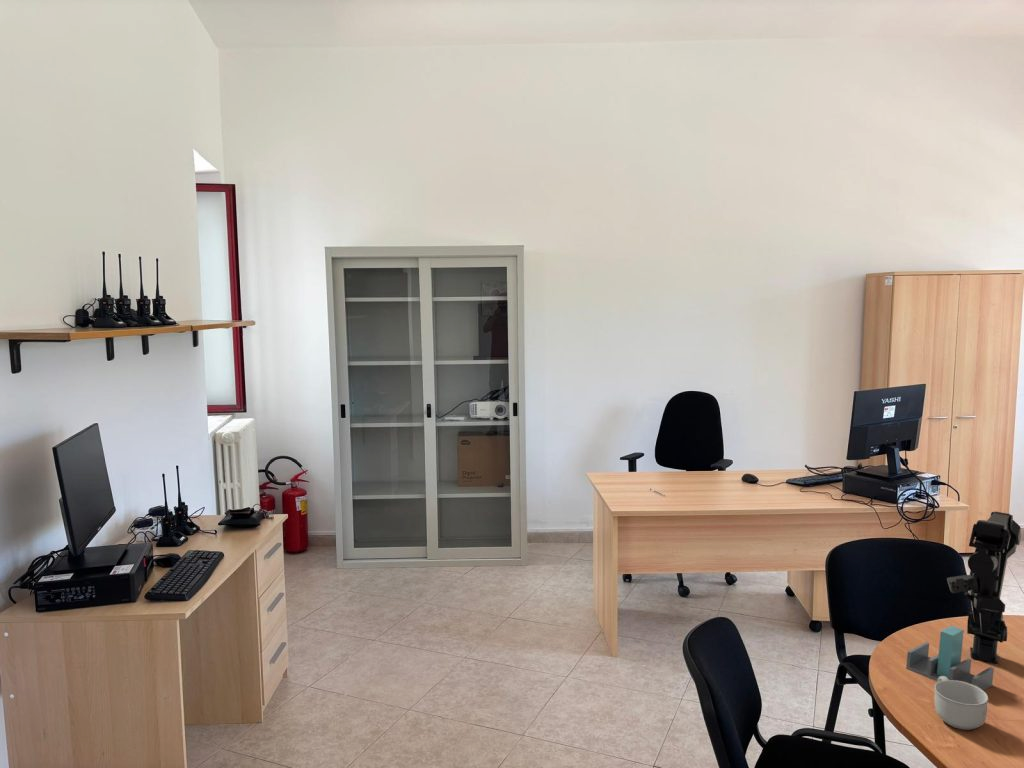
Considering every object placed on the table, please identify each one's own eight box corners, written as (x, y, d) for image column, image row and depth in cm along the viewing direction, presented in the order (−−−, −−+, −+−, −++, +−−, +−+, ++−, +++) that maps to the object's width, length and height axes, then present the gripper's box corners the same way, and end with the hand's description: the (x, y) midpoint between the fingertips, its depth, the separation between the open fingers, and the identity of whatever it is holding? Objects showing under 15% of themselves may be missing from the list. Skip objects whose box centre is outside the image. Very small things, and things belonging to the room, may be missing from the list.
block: (947, 668, 198) (951, 625, 197) (959, 672, 196) (963, 629, 195) (936, 674, 195) (940, 631, 194) (948, 679, 193) (952, 635, 191)
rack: (924, 658, 205) (926, 642, 205) (992, 685, 191) (993, 667, 191) (906, 668, 200) (907, 651, 199) (974, 696, 186) (975, 678, 185)
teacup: (993, 738, 168) (996, 705, 167) (941, 732, 170) (944, 700, 169) (968, 705, 182) (971, 675, 181) (920, 700, 184) (923, 670, 183)
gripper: (945, 556, 206) (939, 611, 207) (957, 571, 189) (951, 632, 190) (992, 563, 202) (986, 620, 203) (1008, 580, 185) (1002, 641, 185)
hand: (980, 627), depth 195 cm, fingers open, 9 cm apart
